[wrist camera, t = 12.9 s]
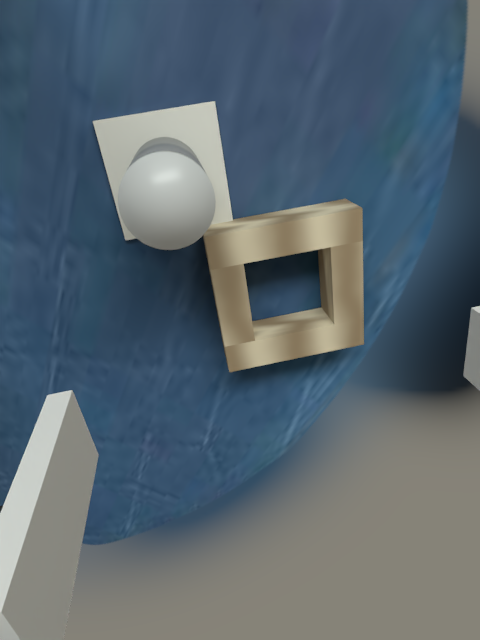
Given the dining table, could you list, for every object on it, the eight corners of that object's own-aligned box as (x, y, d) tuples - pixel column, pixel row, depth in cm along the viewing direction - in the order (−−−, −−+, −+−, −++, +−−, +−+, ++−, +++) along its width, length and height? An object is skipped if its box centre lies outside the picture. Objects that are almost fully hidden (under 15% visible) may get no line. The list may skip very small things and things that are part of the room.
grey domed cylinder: (140, 214, 39) (131, 257, 28) (123, 143, 36) (105, 161, 26) (206, 203, 39) (222, 240, 29) (194, 131, 37) (206, 144, 26)
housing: (224, 351, 47) (229, 372, 44) (200, 225, 41) (204, 237, 37) (349, 326, 48) (363, 344, 44) (345, 199, 42) (362, 208, 38)
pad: (125, 239, 40) (125, 240, 40) (93, 120, 35) (92, 121, 35) (232, 219, 41) (232, 220, 40) (214, 101, 36) (214, 101, 36)
